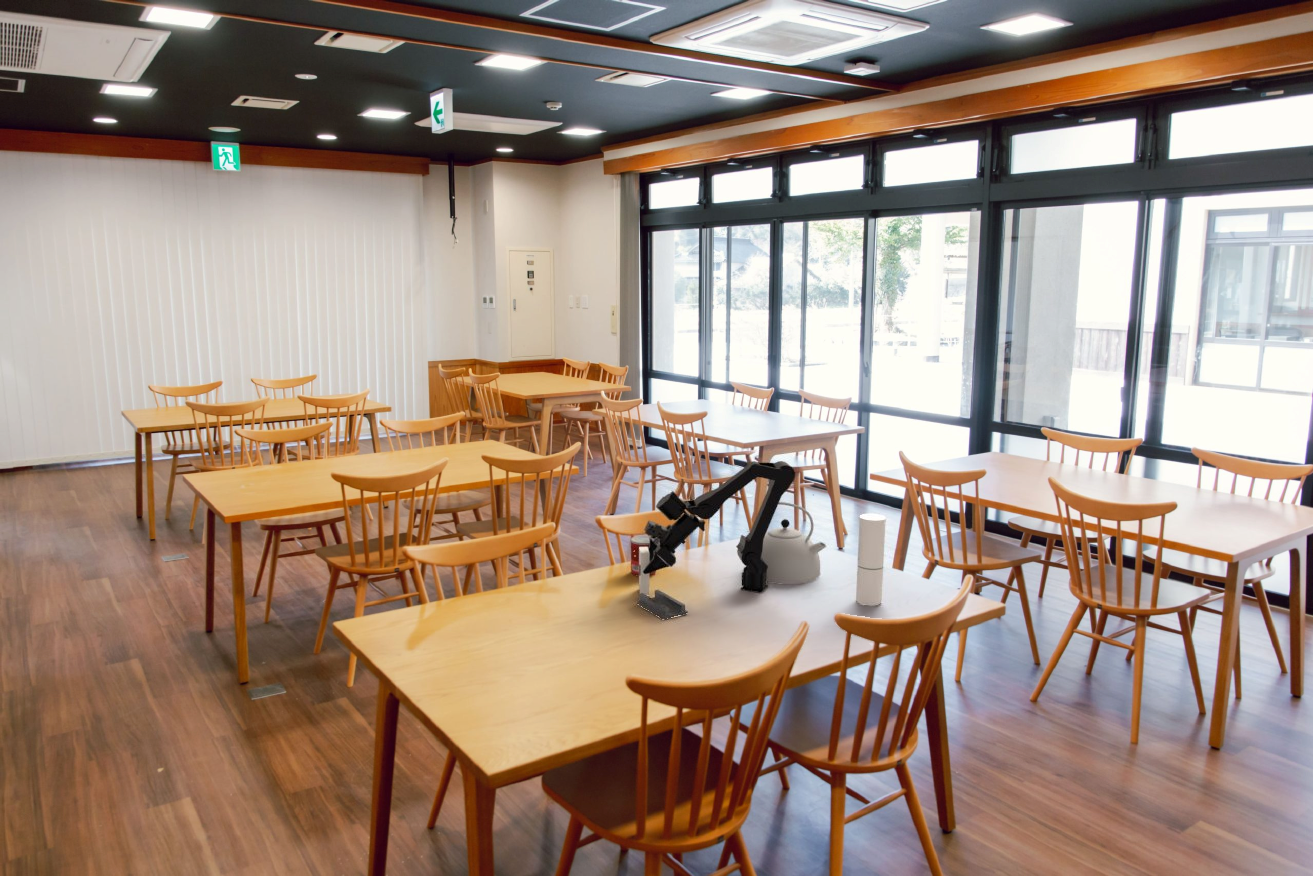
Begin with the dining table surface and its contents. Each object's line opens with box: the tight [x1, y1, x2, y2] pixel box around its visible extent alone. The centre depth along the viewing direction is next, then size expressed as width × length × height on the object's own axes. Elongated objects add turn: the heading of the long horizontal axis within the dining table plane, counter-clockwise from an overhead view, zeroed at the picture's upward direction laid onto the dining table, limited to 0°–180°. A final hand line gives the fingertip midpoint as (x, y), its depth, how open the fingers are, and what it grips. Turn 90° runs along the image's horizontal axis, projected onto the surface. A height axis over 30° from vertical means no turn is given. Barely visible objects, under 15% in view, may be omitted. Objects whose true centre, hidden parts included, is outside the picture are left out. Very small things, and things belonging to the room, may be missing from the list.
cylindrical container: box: [855, 513, 887, 605], centre depth 254 cm, size 7×7×25 cm
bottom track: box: [636, 589, 689, 620], centre depth 250 cm, size 8×14×3 cm, turn 32°
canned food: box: [630, 535, 657, 577], centre depth 280 cm, size 8×8×11 cm
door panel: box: [638, 547, 650, 596], centre depth 262 cm, size 3×6×13 cm, turn 6°
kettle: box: [761, 501, 827, 585], centre depth 279 cm, size 25×23×22 cm
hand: (642, 568), depth 262 cm, fingers open, 9 cm apart
